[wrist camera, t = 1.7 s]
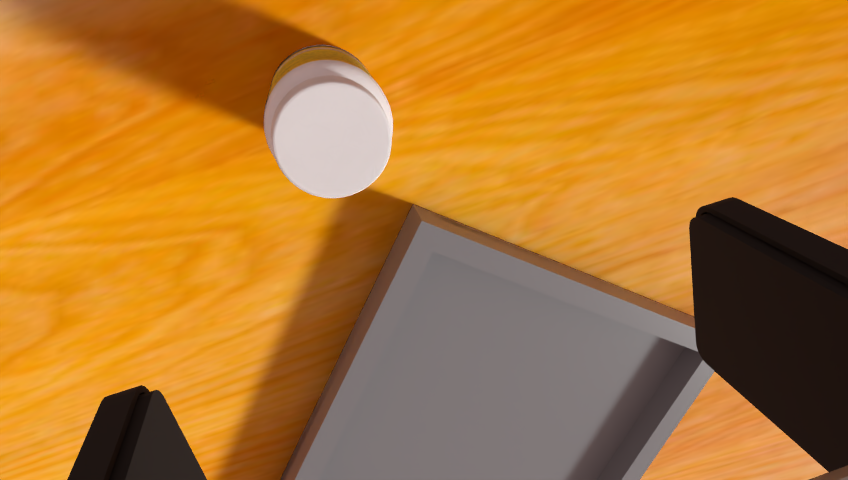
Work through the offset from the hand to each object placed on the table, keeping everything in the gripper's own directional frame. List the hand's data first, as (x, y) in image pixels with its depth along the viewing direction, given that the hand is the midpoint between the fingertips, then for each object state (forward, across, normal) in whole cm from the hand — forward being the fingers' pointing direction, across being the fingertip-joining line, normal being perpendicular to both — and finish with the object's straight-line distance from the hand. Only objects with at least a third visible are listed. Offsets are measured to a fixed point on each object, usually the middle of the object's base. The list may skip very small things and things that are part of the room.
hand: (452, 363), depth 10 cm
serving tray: (+20, -4, +19) cm, 28 cm away
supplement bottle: (+20, 0, -1) cm, 20 cm away
